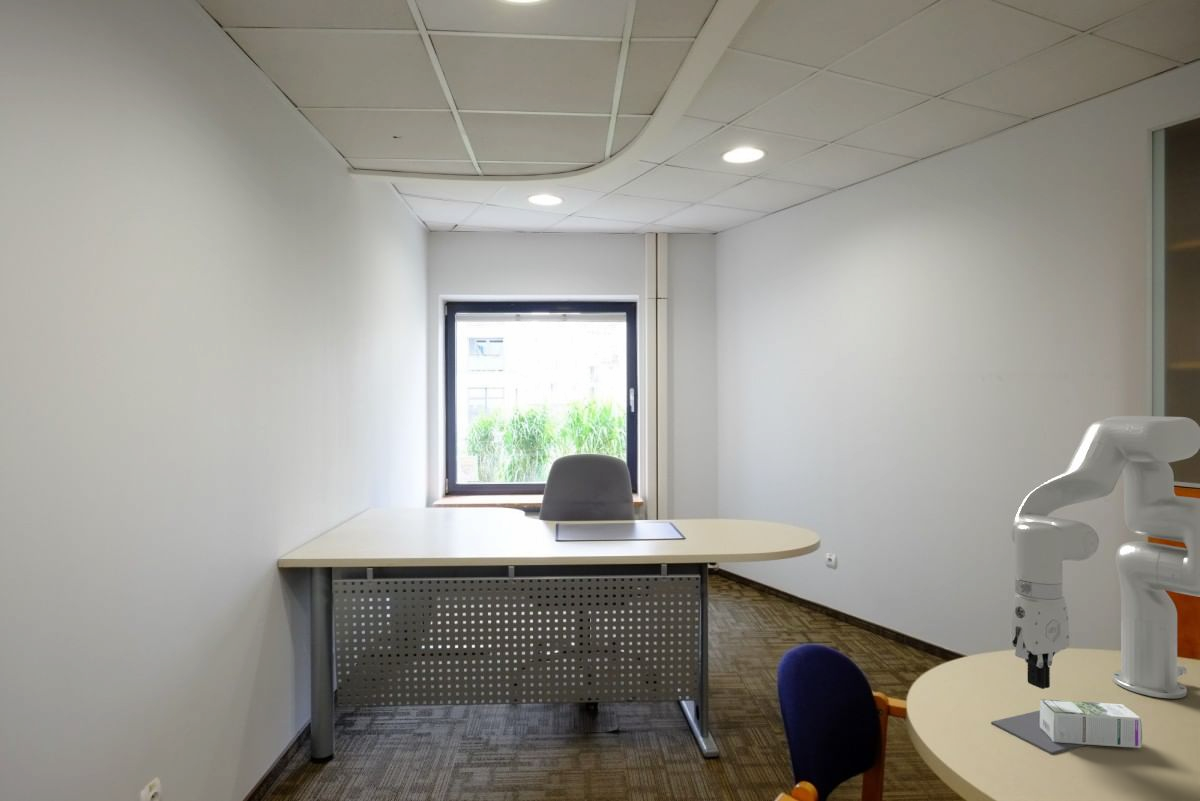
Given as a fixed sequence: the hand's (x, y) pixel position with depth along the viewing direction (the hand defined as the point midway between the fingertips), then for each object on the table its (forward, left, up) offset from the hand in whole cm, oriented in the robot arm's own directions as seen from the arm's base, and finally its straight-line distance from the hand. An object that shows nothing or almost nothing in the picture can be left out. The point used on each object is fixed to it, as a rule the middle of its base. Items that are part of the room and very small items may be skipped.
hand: (1038, 685), depth 127 cm
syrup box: (0, +2, -6) cm, 6 cm away
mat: (-4, 0, -9) cm, 10 cm away
